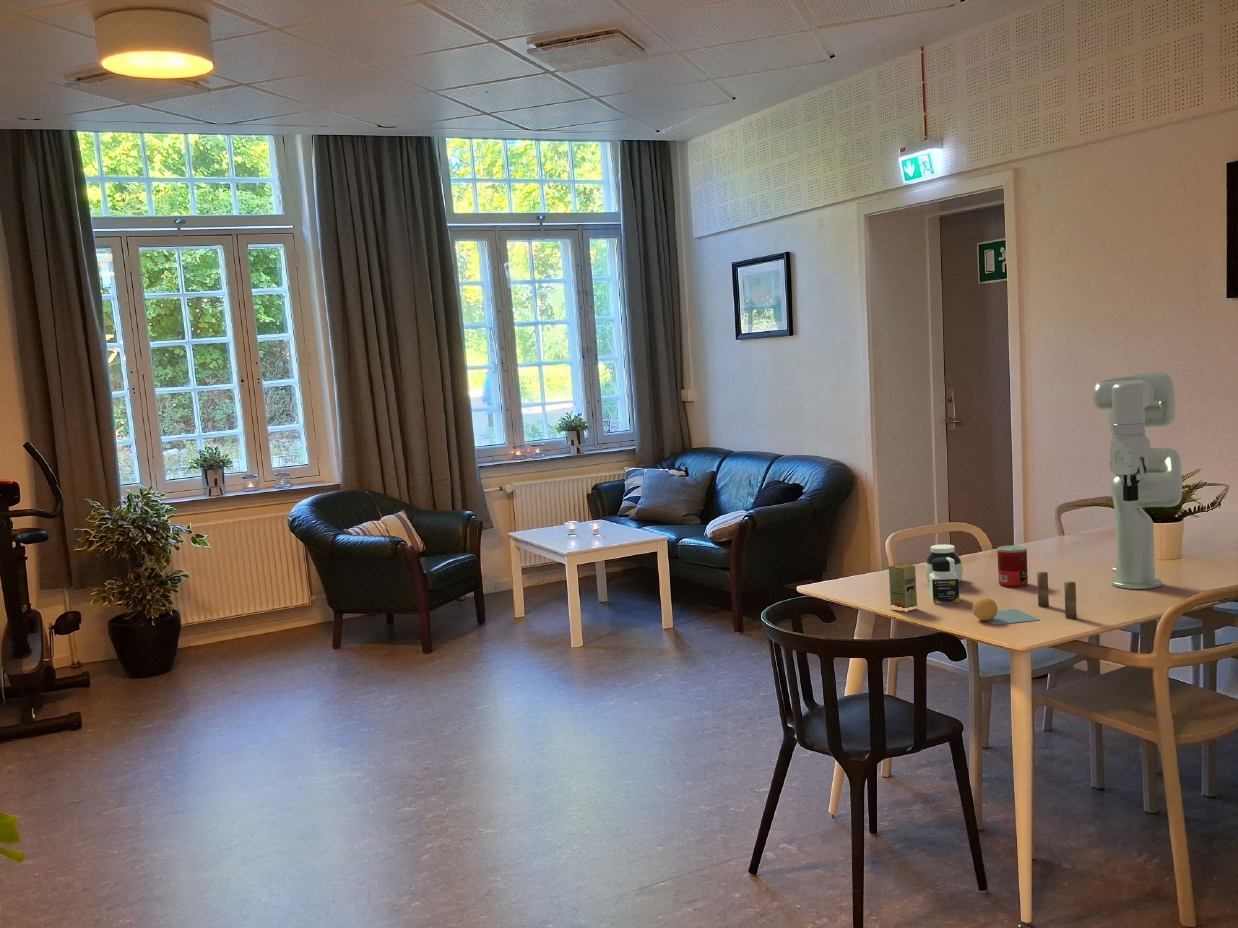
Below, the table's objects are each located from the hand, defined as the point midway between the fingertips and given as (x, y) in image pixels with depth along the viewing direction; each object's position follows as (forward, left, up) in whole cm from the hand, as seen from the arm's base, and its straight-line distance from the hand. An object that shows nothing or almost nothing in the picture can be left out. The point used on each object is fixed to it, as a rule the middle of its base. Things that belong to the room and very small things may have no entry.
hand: (1130, 500), depth 265 cm
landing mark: (+1, -36, -27) cm, 45 cm away
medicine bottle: (-22, -42, -27) cm, 55 cm away
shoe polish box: (-17, -56, -27) cm, 65 cm away
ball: (+2, -42, -24) cm, 48 cm away
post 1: (-6, -22, -27) cm, 35 cm away
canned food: (-31, -17, -27) cm, 45 cm away
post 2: (+8, -22, -27) cm, 36 cm away
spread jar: (-41, -33, -27) cm, 59 cm away
